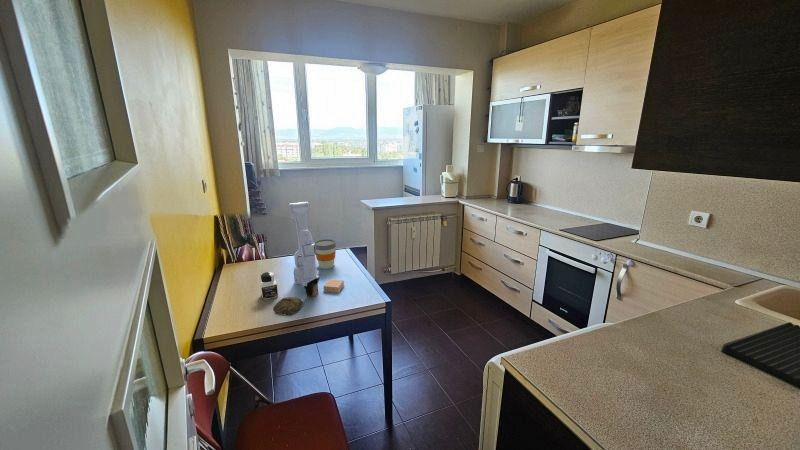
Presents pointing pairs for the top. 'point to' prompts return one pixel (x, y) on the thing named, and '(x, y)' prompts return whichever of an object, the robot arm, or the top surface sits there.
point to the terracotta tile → (333, 286)
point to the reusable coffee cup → (325, 253)
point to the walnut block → (314, 291)
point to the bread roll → (288, 305)
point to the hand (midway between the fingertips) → (312, 292)
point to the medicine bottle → (268, 286)
